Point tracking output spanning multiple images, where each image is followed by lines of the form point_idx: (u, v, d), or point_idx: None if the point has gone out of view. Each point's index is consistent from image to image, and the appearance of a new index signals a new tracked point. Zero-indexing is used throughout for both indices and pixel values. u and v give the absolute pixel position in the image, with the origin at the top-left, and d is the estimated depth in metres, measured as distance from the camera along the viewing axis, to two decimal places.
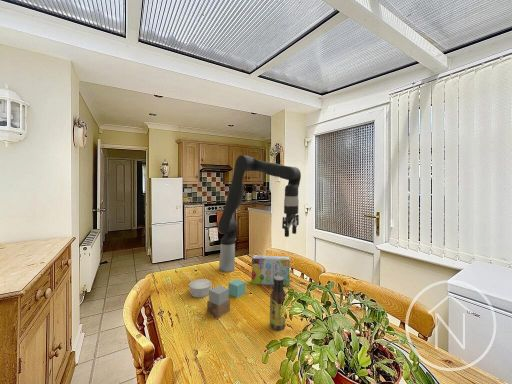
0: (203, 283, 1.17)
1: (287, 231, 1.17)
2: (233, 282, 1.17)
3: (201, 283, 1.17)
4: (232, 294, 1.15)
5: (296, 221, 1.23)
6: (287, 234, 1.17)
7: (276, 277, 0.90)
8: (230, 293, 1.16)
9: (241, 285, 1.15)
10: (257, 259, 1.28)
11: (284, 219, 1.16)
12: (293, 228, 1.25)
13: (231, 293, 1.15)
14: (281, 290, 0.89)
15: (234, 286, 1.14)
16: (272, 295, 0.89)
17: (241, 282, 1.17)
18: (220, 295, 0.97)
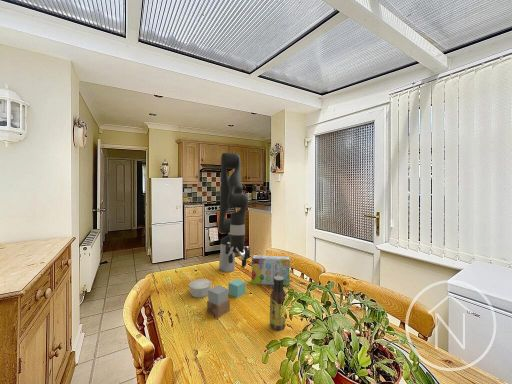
0: (203, 283, 1.17)
1: (245, 260, 1.14)
2: (233, 282, 1.17)
3: (201, 283, 1.17)
4: (232, 294, 1.15)
5: None
6: (245, 263, 1.14)
7: (276, 277, 0.90)
8: (230, 293, 1.16)
9: (241, 285, 1.15)
10: (257, 259, 1.28)
11: (247, 249, 1.12)
12: (231, 257, 1.18)
13: (231, 293, 1.15)
14: (281, 290, 0.89)
15: (234, 286, 1.14)
16: (272, 295, 0.89)
17: (241, 282, 1.17)
18: (219, 295, 0.97)
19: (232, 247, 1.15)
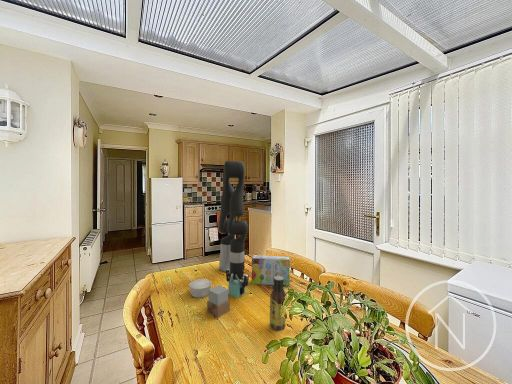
0: (203, 283, 1.17)
1: (243, 288, 1.15)
2: (233, 282, 1.17)
3: (201, 283, 1.17)
4: (232, 294, 1.15)
5: None
6: (243, 291, 1.15)
7: (276, 277, 0.90)
8: (230, 293, 1.16)
9: None
10: (257, 259, 1.28)
11: (247, 278, 1.13)
12: None
13: (231, 293, 1.15)
14: (281, 290, 0.89)
15: (234, 286, 1.14)
16: (272, 295, 0.89)
17: None
18: (219, 296, 0.97)
19: (232, 274, 1.16)
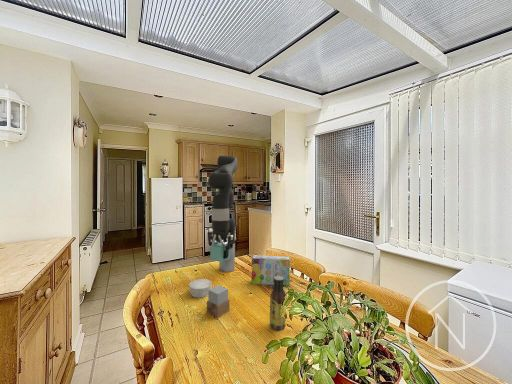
0: (203, 283, 1.17)
1: None
2: (216, 245, 1.00)
3: (201, 283, 1.17)
4: (214, 258, 0.98)
5: None
6: None
7: (276, 277, 0.90)
8: (212, 258, 0.99)
9: None
10: (257, 259, 1.28)
11: (231, 238, 0.96)
12: None
13: (213, 257, 0.98)
14: (281, 290, 0.89)
15: (216, 248, 0.97)
16: (272, 295, 0.89)
17: (225, 245, 1.00)
18: (219, 295, 0.97)
19: (214, 235, 0.99)
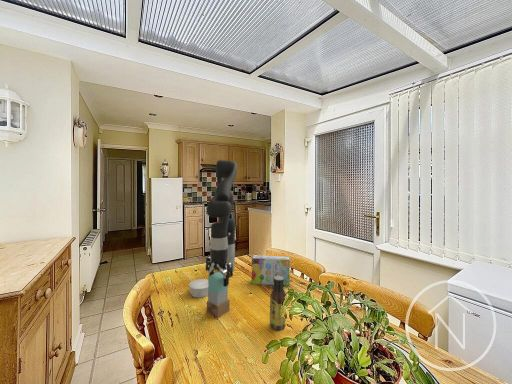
0: (203, 283, 1.17)
1: None
2: (214, 275, 1.01)
3: (201, 283, 1.17)
4: (212, 289, 0.99)
5: None
6: None
7: (276, 277, 0.90)
8: (210, 289, 0.99)
9: (223, 279, 0.99)
10: (257, 259, 1.28)
11: (230, 266, 0.96)
12: (211, 274, 1.02)
13: (211, 288, 0.99)
14: (281, 290, 0.89)
15: (214, 280, 0.98)
16: (272, 295, 0.89)
17: None
18: (218, 295, 0.97)
19: (213, 263, 0.99)
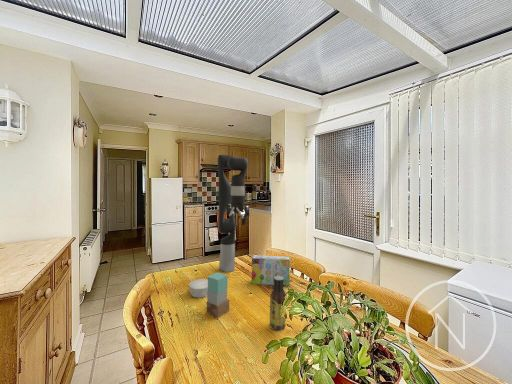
0: (203, 283, 1.17)
1: (245, 219, 1.22)
2: (213, 276, 1.00)
3: (201, 283, 1.17)
4: (212, 290, 0.98)
5: None
6: None
7: (276, 277, 0.90)
8: (209, 289, 0.99)
9: (222, 279, 0.99)
10: (257, 259, 1.28)
11: (247, 208, 1.20)
12: (231, 218, 1.27)
13: (211, 288, 0.99)
14: (281, 290, 0.89)
15: (214, 280, 0.97)
16: (272, 295, 0.89)
17: (223, 276, 1.00)
18: (218, 295, 0.97)
19: (233, 207, 1.24)
